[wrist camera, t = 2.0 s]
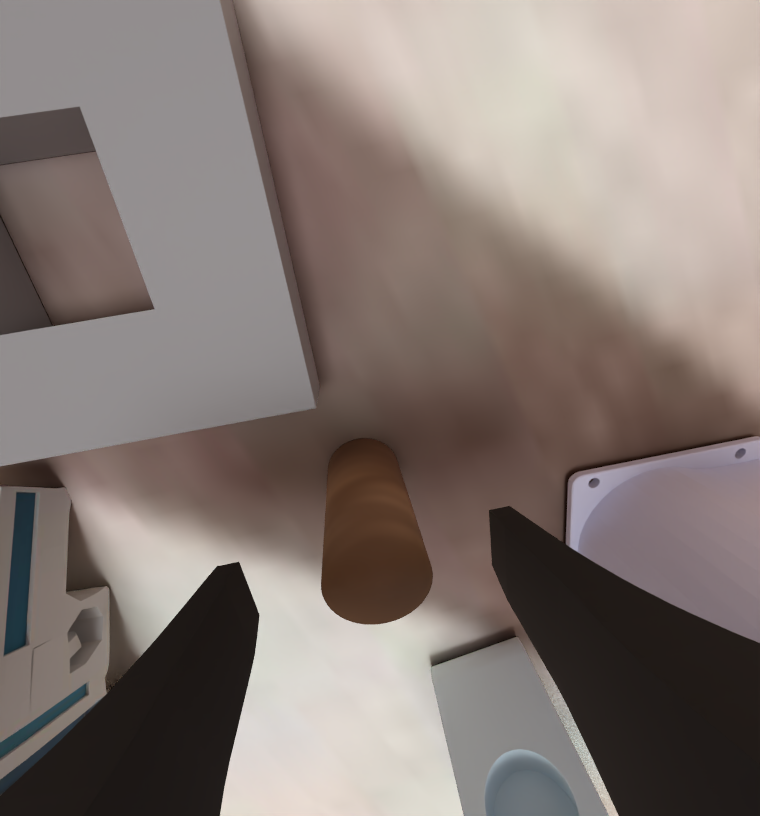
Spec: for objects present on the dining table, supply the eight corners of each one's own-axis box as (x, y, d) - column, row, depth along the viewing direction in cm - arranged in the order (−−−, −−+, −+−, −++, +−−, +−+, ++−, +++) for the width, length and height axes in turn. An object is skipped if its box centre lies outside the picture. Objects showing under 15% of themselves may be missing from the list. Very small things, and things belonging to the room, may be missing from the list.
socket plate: (223, -41, 9) (184, -147, 7) (320, 386, 14) (316, 408, 11) (-259, 18, 9) (-472, -75, 7) (-3, 444, 13) (-77, 480, 11)
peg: (393, 432, 15) (426, 526, 9) (402, 493, 16) (437, 611, 10) (321, 446, 15) (309, 550, 9) (335, 506, 16) (334, 634, 10)
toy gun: (100, 790, 17) (-236, 1175, 8) (108, 490, 20) (-124, 493, 11) (163, 778, 18) (-85, 1139, 8) (162, 483, 21) (-17, 480, 11)
